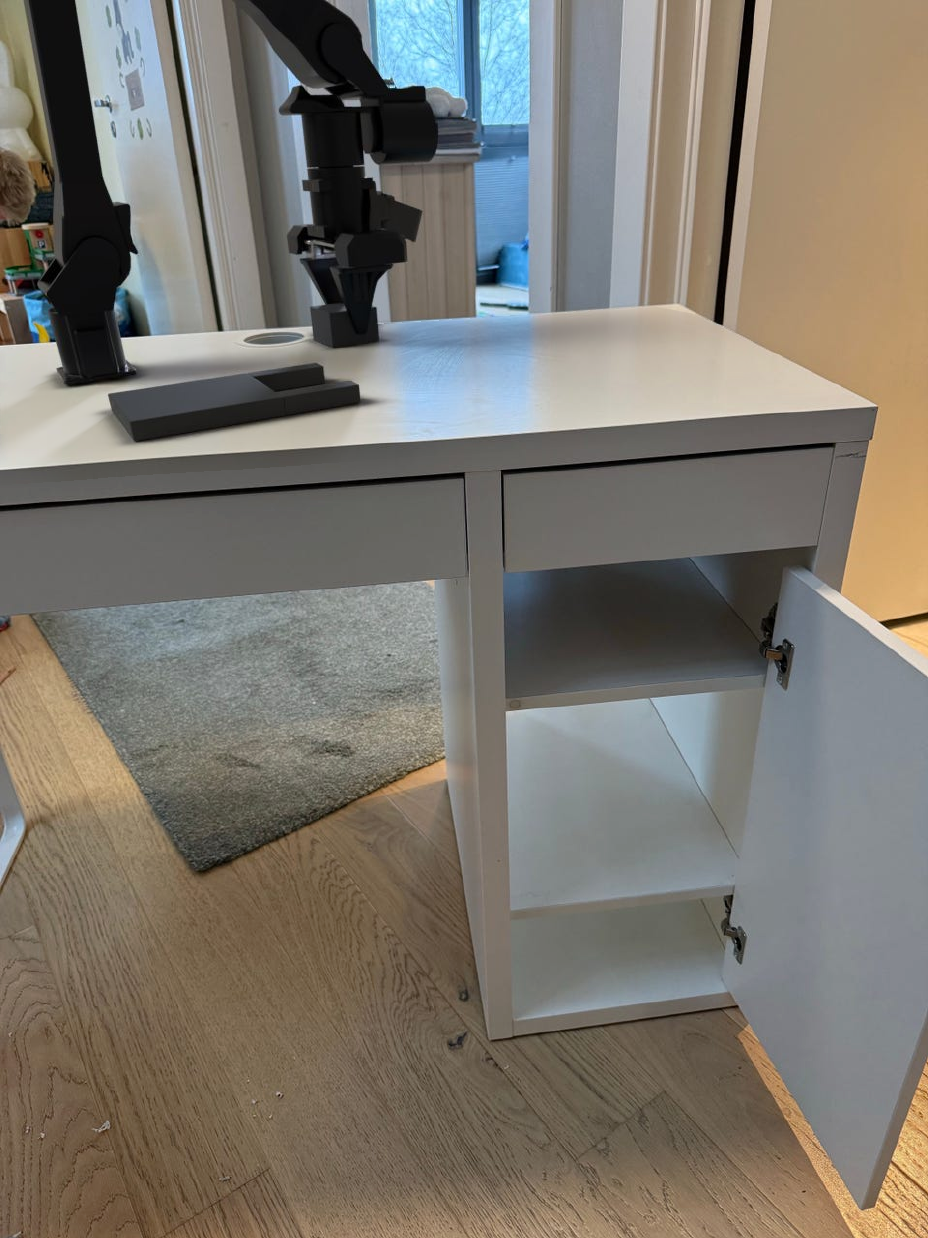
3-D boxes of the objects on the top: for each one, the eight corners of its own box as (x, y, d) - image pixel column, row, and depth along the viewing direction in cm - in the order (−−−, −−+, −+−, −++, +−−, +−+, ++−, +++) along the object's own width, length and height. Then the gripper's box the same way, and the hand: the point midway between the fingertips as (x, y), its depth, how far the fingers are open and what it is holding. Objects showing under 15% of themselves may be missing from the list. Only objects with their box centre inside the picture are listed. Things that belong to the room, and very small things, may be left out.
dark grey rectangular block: (313, 339, 94) (309, 306, 92) (358, 333, 96) (355, 300, 95) (333, 347, 90) (329, 312, 88) (379, 341, 92) (376, 306, 90)
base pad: (111, 411, 71) (107, 393, 70) (318, 379, 78) (316, 362, 77) (134, 441, 63) (129, 421, 62) (361, 402, 70) (359, 384, 69)
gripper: (451, 163, 81) (458, 333, 89) (373, 163, 96) (384, 310, 103) (341, 168, 77) (358, 347, 84) (276, 168, 91) (296, 321, 99)
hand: (351, 329), depth 93 cm, fingers closed on dark grey rectangular block, 5 cm apart
